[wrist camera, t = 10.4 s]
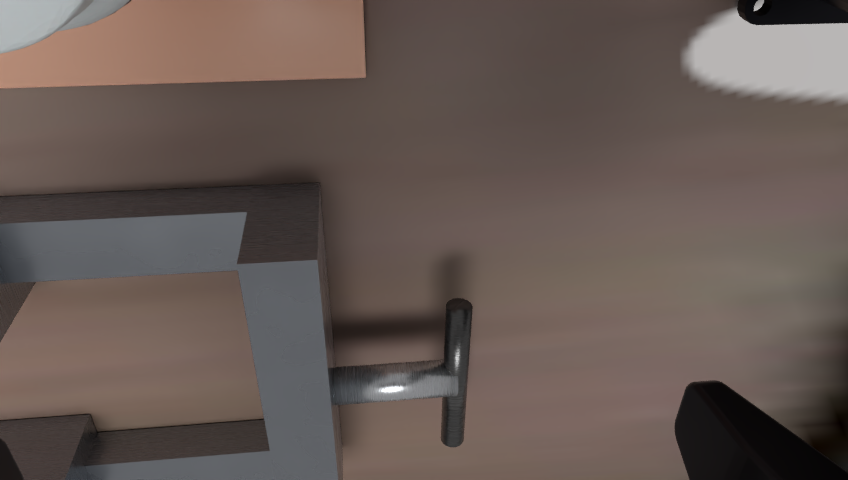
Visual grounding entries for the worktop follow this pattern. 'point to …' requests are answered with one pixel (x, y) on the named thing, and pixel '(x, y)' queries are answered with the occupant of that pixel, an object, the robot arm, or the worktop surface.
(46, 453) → the vise
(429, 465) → the worktop surface
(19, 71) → the tile
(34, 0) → the pill bottle
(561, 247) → the worktop surface
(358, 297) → the worktop surface
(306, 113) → the worktop surface
